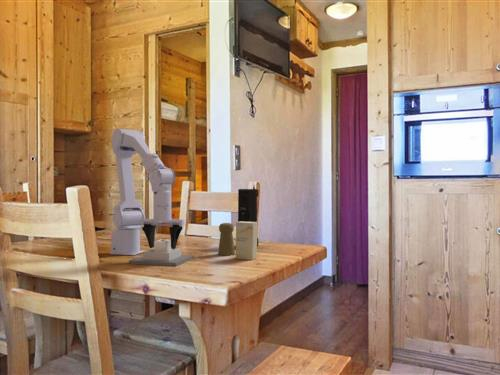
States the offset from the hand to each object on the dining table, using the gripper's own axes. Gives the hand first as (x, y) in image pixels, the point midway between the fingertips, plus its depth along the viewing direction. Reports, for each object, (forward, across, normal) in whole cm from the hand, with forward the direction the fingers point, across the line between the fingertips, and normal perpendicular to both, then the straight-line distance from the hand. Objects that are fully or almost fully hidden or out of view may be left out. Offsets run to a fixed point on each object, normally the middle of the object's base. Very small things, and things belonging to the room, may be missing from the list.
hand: (162, 248), depth 138 cm
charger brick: (+3, 0, 0) cm, 3 cm away
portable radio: (+4, +18, +36) cm, 40 cm away
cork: (+4, +16, +17) cm, 24 cm away
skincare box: (+4, +25, +11) cm, 28 cm away
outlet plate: (+4, 0, 0) cm, 4 cm away
